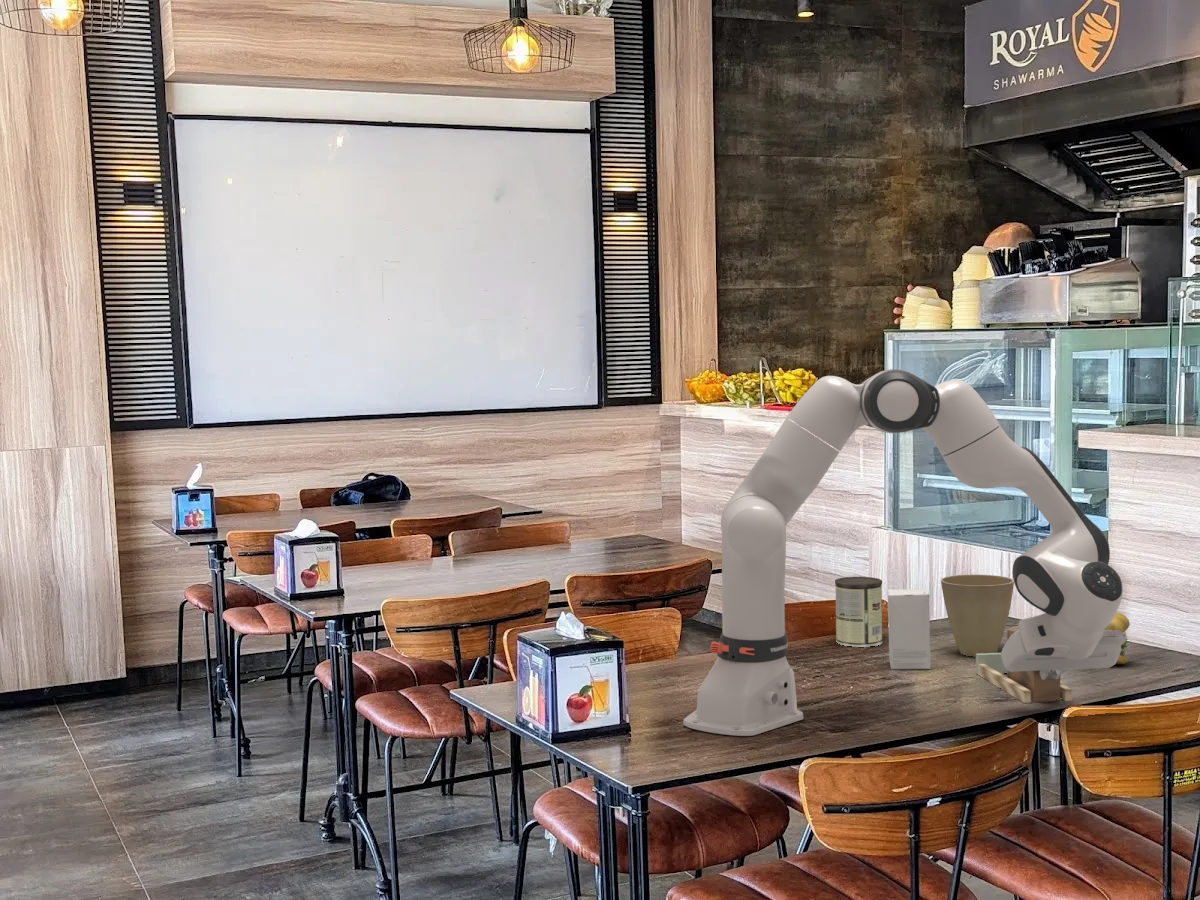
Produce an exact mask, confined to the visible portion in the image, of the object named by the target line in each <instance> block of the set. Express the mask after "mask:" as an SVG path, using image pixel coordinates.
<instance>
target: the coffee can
mask: <svg viewBox="0 0 1200 900" xmlns="http://www.w3.org/2000/svg"><path fill="white" fill-rule="evenodd" d="M834 584H835V585H834V586H835V633H836V635H835V636H836V637H835V638H836V639H835V643H836V642H837V643H838V644H837V643H836V644H837V645H839V644H840V645H839V646H842V645H844V646H843V647H847V646H852V647H851V648H858V647H864V648H871V647H870V646H875V647H878V645H879V646H881V645H882V644H883V643H884V642H883V607H882V605H883V604H882V603H883V602H882V600H883V597H882V596H883V595H882V594H883V593H882V591H883V590H882V585H883V580H882V579H880V578H876V577H870V576H844V577H838V578H835V580H834Z"/></svg>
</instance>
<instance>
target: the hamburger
mask: <svg viewBox="0 0 1200 900" xmlns="http://www.w3.org/2000/svg"><path fill="white" fill-rule="evenodd" d="M1130 625H1131V624H1130V621H1129V619H1128V618H1127V616H1126V615H1125V614H1123V613H1121V612H1116V614H1115V616H1114V618H1113V619H1112V621H1111V623H1110V624H1109V625H1108V626H1107V627H1106V628H1105V630H1112V631H1113V630H1120V631H1121V632H1123V633H1125V634H1126V635H1127V633H1126V631H1127V630H1128V628H1129V627H1130ZM1127 643H1128V638H1127V639H1126V641H1125V642H1124V644H1122V645H1121V652H1120V655H1119V657H1118V660H1117V662H1116V664H1115V665H1125V664H1126V663H1127V662H1128V661H1129V658H1128V657H1127V656H1126V649H1127V648H1128V645H1127Z"/></svg>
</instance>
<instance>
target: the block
mask: <svg viewBox="0 0 1200 900" xmlns="http://www.w3.org/2000/svg"><path fill="white" fill-rule="evenodd" d="M1018 630H1019V628H1007V639H1006V641H1007V640H1008V639H1009V637H1010V636H1011V635H1012V634H1013V633H1014V632H1016V631H1018ZM1006 675H1007V676H1006V677H1008V678H1009V679H1011V680H1013V681H1015V682H1016V683H1018V684H1020V685H1021V686H1023V687H1025V688H1027V689H1028V690H1030V691H1031V702H1033V703H1040V702H1041V703H1042V702H1055V701H1054V700H1060V701H1061V699H1060V683H1061V675H1060V676H1059V678H1058V679H1047V680H1042V679H1041V676H1040V670H1039V671H1014V672H1009V671H1008V670H1007V674H1006Z"/></svg>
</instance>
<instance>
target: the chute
mask: <svg viewBox="0 0 1200 900" xmlns="http://www.w3.org/2000/svg"><path fill="white" fill-rule="evenodd" d="M979 675H980V676H979ZM978 676H979V677H981V678H982V677H983V678H982V679H984V678H985V679H984V680H986V679H987V680H988V681H987V680H986V681H987V682H989V683H991V684H992V685H994V686H995V685H996V686H995V687H997V688H998V689H1000V688H1001V689H1000V690H1002V691H1004V692H1005V691H1006V692H1005V693H1008V695H1010V696H1012V697H1014V698H1015V699H1017V700H1018V701H1020V702H1022V703H1024V704H1031V702H1032V701H1031V691H1030V690H1028V689H1027V688H1025V687H1023V686H1021V685H1020V684H1018V683H1016V682H1015V681H1013V680H1011V679H1009V678H1008V677H1007V676H1006V675H1005V674H1001V673H999V672H997V671H996V670H994V669H992V668H990V667H989V666H987V665H985V664H978ZM1072 692H1073V689H1072V688H1070V687H1068V686H1067V685H1065V684H1062V683H1061V682H1060V698H1062V699H1063V700H1062V699H1061V700H1062V701H1064V702H1073V701H1072V699H1073V698H1072V697H1073V693H1072Z"/></svg>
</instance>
